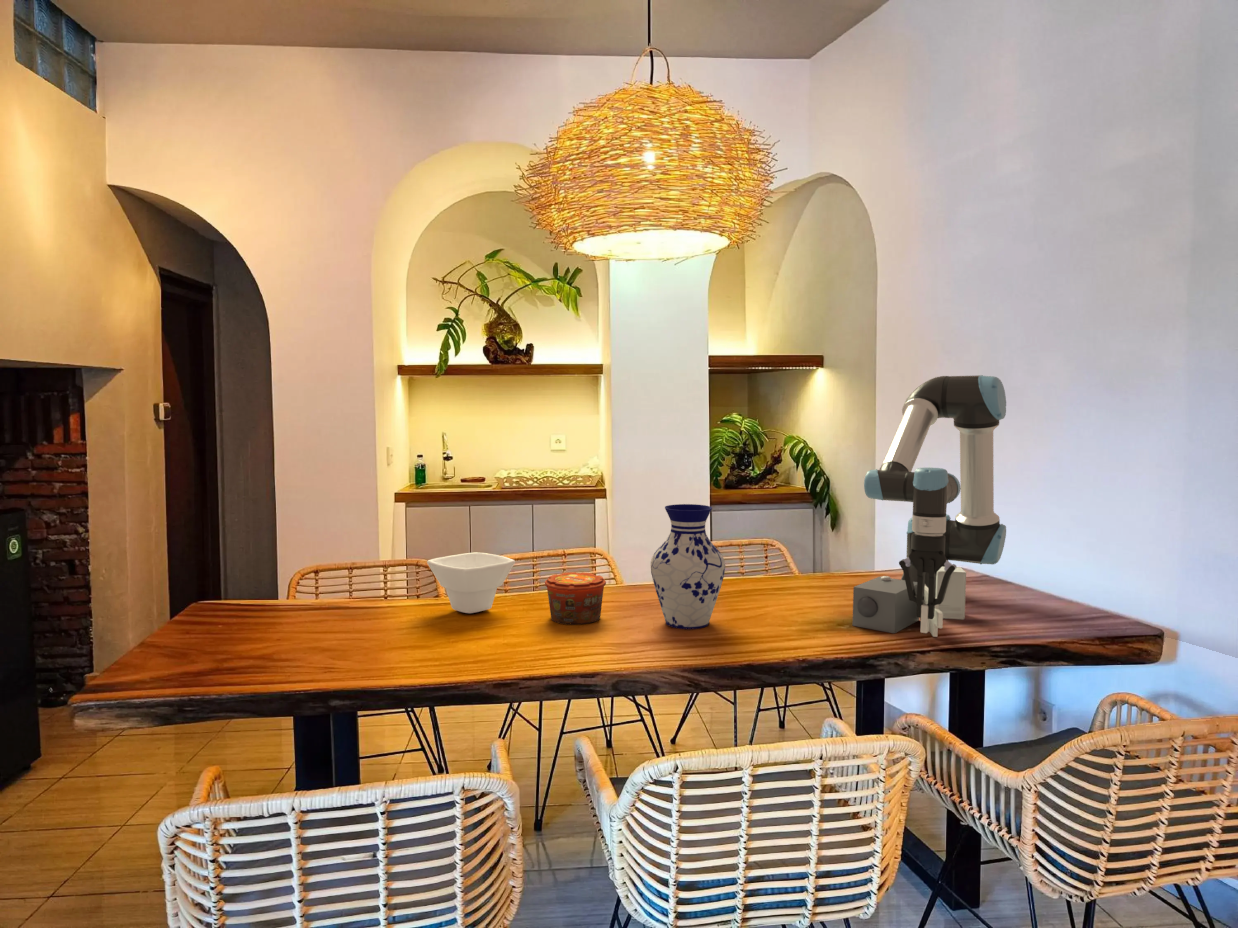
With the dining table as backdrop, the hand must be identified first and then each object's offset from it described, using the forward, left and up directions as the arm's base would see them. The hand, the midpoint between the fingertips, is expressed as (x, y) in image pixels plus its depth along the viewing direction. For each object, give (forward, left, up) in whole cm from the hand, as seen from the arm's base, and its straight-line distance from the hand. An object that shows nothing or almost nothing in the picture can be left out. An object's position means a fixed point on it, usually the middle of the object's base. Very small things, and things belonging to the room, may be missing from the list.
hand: (924, 631), depth 204 cm
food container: (+39, -77, -3) cm, 86 cm away
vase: (+24, -52, -3) cm, 58 cm away
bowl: (+52, -103, -3) cm, 116 cm away
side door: (-9, -2, -2) cm, 10 cm away
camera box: (-10, -14, -3) cm, 17 cm away
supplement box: (-28, -4, -3) cm, 29 cm away
